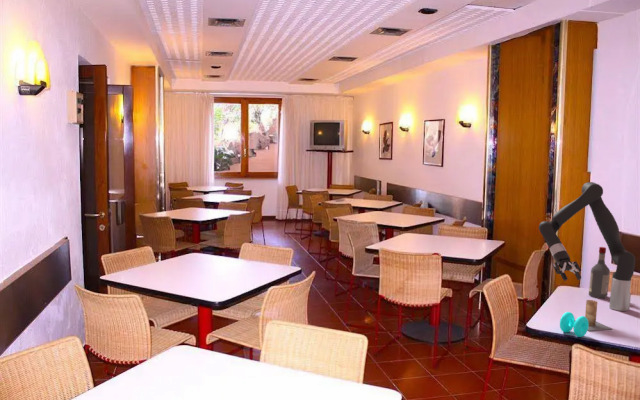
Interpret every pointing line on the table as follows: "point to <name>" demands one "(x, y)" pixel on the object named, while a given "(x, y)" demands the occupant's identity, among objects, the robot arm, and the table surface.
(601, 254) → the liquor
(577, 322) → the turquoise spool
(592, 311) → the oak roller
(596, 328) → the slate pad
